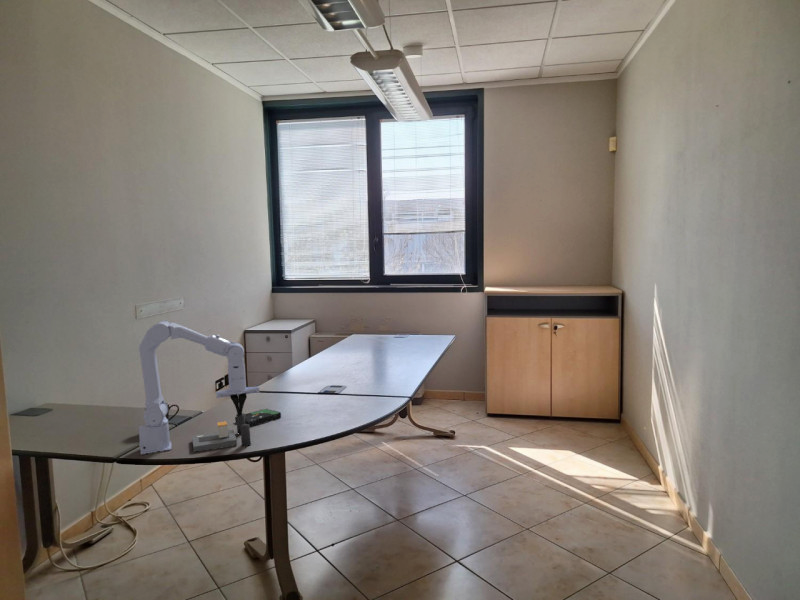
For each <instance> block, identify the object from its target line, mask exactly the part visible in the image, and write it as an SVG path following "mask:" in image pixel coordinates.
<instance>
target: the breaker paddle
mask: <svg viewBox="0 0 800 600" xmlns="http://www.w3.org/2000/svg"><path fill="white" fill-rule="evenodd" d="M216 423H217V432H218V436H219V438H223V437H228V423H227V421H217V422H216Z"/></svg>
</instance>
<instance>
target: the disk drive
mask: <svg viewBox="0 0 800 600" xmlns="http://www.w3.org/2000/svg"><path fill="white" fill-rule="evenodd" d="M244 414H245V424H249V426H252V427H255V426H258V425H261V423H262V424H264V422H265V423H268V422H272V421H275V420H278V419H281V418H282V412H280V411H276V410H272V409H268V408H264V409H259V410H255V411H252V412H248V413H244ZM234 419H235V421H236V422H237V419H236V416H235V418H234ZM271 420H272V421H271ZM235 421H234V422H235ZM267 421H268V422H267ZM236 422H235V423H236Z"/></svg>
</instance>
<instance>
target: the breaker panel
mask: <svg viewBox="0 0 800 600" xmlns="http://www.w3.org/2000/svg"><path fill="white" fill-rule="evenodd" d="M227 430H228V429H227ZM191 437H192V446H193V447H192V448H193V452H194V451H200V452H203V451H202V450H206V451H210V450H209V449H212V450H216V449H215V448H219V449H222V448H221V447H225V448H228V447H227V446H231V447H233V446H232V445H237V446H238V439H237V437H236V433H235V431H234V429H229V430H228V437H223V438H219V436H218V431H216V432H210V433H203V434H195V435H192V436H191Z"/></svg>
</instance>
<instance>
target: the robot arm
mask: <svg viewBox="0 0 800 600" xmlns="http://www.w3.org/2000/svg"><path fill="white" fill-rule="evenodd" d="M169 338H170V340H175V339H185V340H188V341H190V342H193V343H196V344H199V345H202V346H204V349H205V350H206V351H207V352H210V353H213V354H216V355H218V356H221V357H226V358H227V362H228V364H227V372H228V373H227V374H228V375H227V376H228V385H229V387H228V388H229V389H225V390H219V391H216V392H215V395H216V399H221V398H225V397H230V399H231V401H232V403H233V404H234V407H235V410H236V415H238V416H241V415H242V413H243V409H244V405H245V403H246V400H247V397H248V396H247V395H248V394H250V395H251V394H260V387H259V386H247V380H246V368H245V367H246V365H245V359H244V355H245V348H244V347H243V345H242V344H241V343H239V342H238V341H237V342H234V340H227V339H225V338H223V337H221V335H220V334H216V335H215V334H211V335H209V336H207V335H205V334H202V333H201V332H198V331H195V330H193V329H190V328H189V327H186V326H184V325H181V324H178V323H175V322H171V321H168V320H160V321H158V322H156V323H155V324H153V325H152V326H151V327H150V328H149V329H148V330H147V331H146V333H145V335H144V337H143V339H142V340H141V342H140V344H139V347H138V349H139V350H138V351H139V357H140V363H141V369H142V379H143V384H144V385H143V386H144V392H145V403H144V406H145V407H144V413H143V421H144V422H145V424H144V425H143V424H142V425H139V427H138V436H139V444H138V445H139V449H140V455H146V453H148V454H152V452H154V453H158V452H157V451H160V452H165V451H164V450H166V451H170V450H172V441H171V439H170V427H169V422H168V420H169V419H167V418H166V417H165V416H166V414H167V413H168V406H167V405H166V403H165V402H166V401H165V398H164V395H163V394H162V386H161V381H160V380H161V379H160V373H159V366H158V358H157V348H158V347H159V346H160V345H161V344H162V343H164V342H166V341H167V340H168V339H169ZM145 409H146V410H145Z"/></svg>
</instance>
